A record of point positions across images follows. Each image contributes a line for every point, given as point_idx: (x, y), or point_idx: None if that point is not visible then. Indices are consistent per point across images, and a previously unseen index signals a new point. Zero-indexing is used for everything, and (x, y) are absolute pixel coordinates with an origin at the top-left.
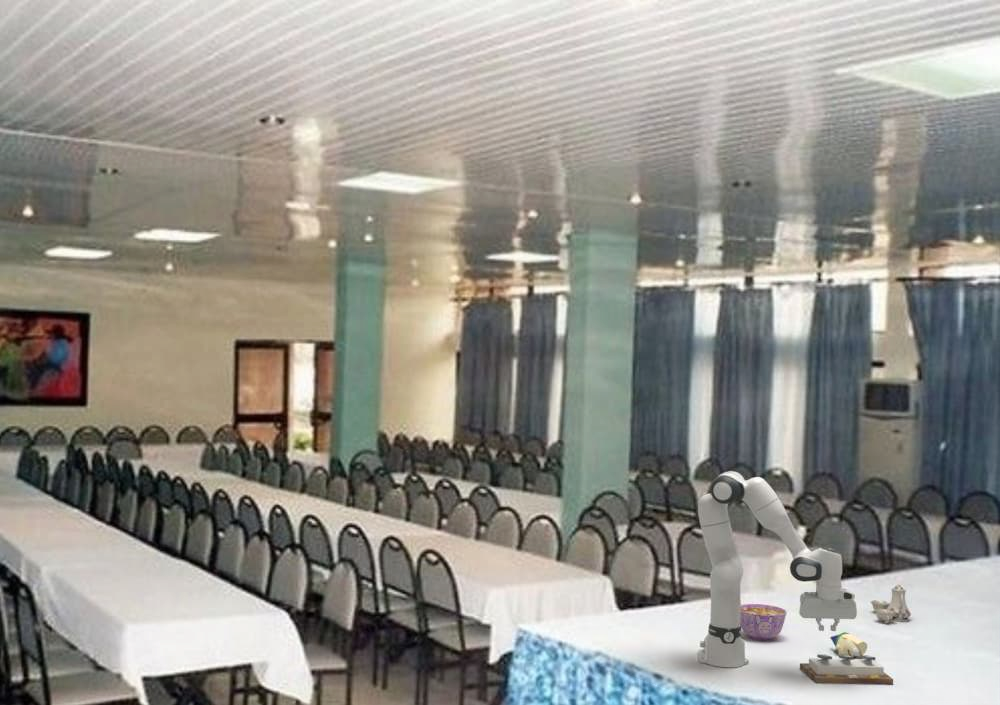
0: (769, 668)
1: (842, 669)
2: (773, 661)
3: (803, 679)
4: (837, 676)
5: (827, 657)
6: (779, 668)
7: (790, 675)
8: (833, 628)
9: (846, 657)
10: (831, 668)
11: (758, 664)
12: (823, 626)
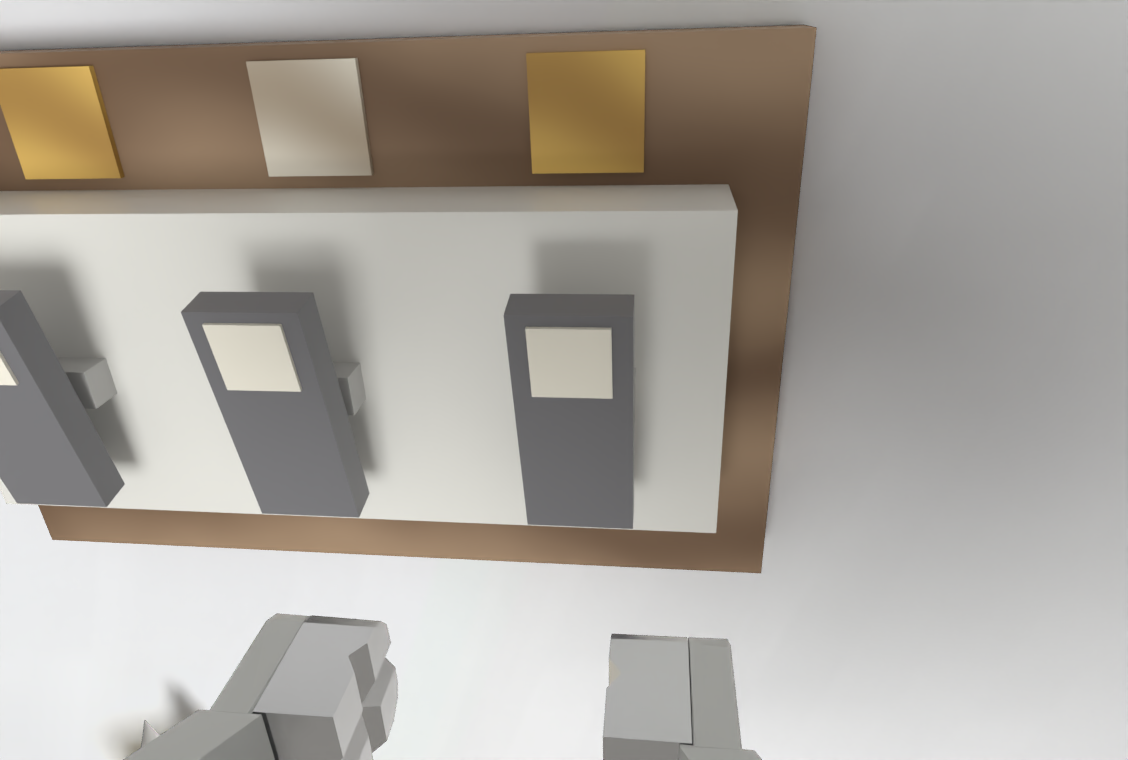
0: (1076, 542)
1: (403, 203)
2: (909, 715)
3: (889, 184)
4: (500, 113)
5: (573, 309)
6: (964, 543)
7: (972, 327)
8: (320, 664)
9: (287, 306)
10: (546, 205)
11: (1116, 648)
12: (626, 732)
